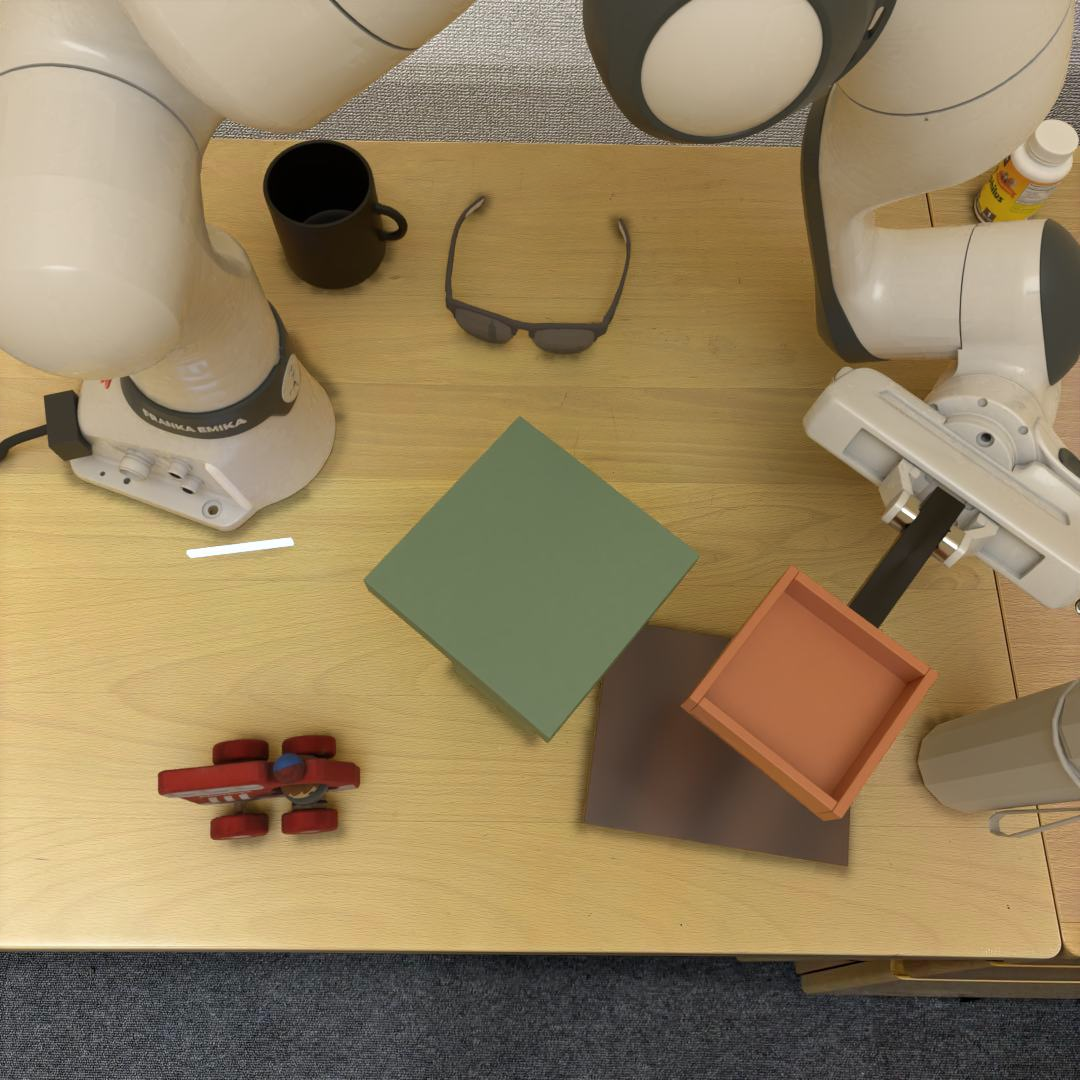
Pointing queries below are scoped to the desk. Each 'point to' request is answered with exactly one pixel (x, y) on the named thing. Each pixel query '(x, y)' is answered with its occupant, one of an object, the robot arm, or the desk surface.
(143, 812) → the desk surface
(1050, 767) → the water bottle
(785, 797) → the board
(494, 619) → the stand
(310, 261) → the mug
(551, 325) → the sunglasses
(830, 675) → the pan
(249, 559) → the desk surface
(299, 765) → the toy fire truck
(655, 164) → the desk surface
